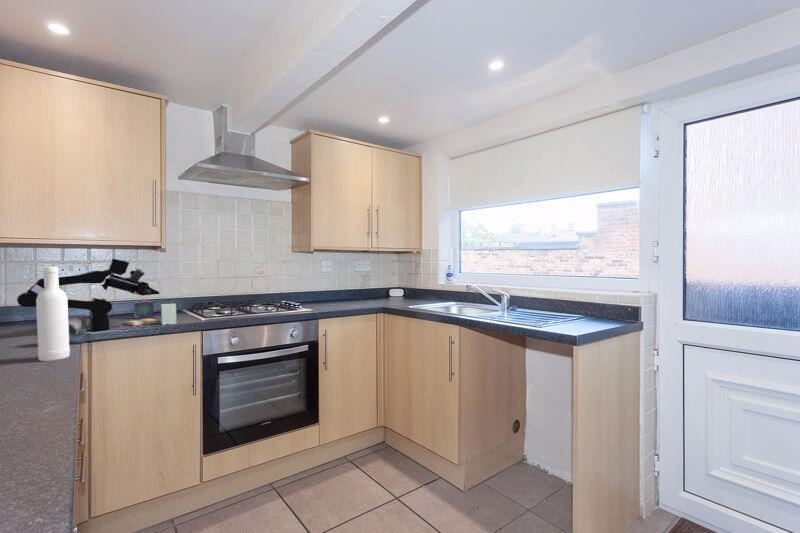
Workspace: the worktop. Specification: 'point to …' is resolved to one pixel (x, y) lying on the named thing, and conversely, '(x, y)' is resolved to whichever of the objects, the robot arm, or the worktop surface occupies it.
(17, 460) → the worktop surface
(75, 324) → the small box
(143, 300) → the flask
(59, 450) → the worktop surface
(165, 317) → the pale green block
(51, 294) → the bottle
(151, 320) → the trivet
